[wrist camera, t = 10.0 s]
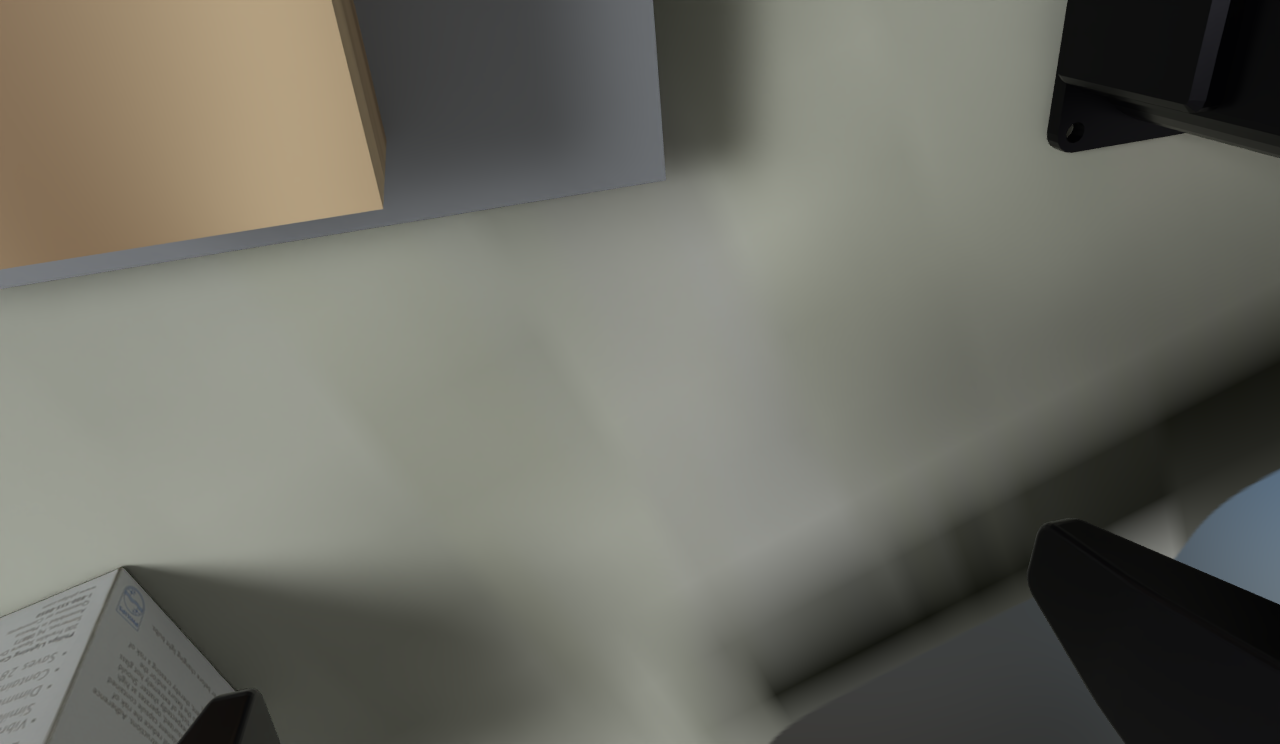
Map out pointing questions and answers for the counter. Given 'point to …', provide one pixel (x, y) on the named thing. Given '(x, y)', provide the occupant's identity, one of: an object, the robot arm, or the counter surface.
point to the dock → (476, 116)
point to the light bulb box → (100, 669)
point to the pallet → (179, 121)
